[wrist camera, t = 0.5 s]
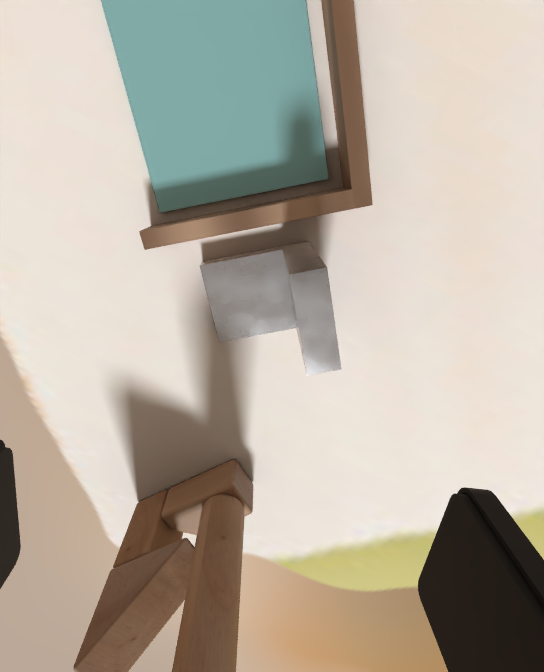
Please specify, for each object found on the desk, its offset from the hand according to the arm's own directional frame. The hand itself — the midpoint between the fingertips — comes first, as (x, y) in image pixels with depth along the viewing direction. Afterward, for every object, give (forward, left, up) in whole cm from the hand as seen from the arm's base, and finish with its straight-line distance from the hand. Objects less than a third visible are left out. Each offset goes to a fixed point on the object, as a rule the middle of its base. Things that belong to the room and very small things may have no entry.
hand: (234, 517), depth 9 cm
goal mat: (0, -13, -24) cm, 27 cm away
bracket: (0, +1, -24) cm, 24 cm away
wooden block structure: (+10, +19, -24) cm, 32 cm away
